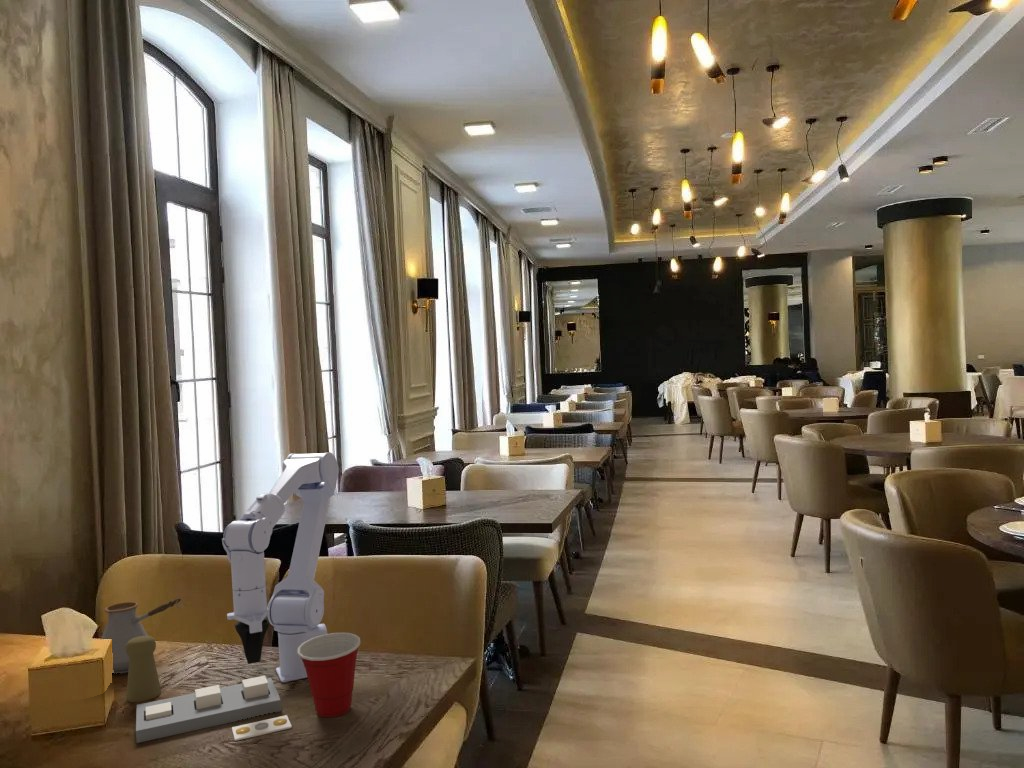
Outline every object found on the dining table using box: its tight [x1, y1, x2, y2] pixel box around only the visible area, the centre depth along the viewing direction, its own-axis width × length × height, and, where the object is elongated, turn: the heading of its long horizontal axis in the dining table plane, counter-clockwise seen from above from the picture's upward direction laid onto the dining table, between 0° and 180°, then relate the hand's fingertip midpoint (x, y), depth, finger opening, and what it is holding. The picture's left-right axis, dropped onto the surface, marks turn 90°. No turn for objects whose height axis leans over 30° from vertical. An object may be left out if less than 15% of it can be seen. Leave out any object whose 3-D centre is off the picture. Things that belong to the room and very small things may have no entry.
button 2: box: [241, 675, 269, 699], centre depth 143 cm, size 4×4×2 cm
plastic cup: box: [297, 632, 361, 718], centre depth 138 cm, size 11×11×12 cm
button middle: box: [194, 684, 221, 709], centre depth 140 cm, size 4×4×2 cm
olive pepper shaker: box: [125, 635, 162, 703], centre depth 150 cm, size 6×6×11 cm
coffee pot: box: [100, 598, 185, 675], centre depth 164 cm, size 21×12×15 cm, turn 71°
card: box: [231, 714, 293, 742], centre depth 132 cm, size 9×5×1 cm, turn 115°
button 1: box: [146, 702, 172, 720], centre depth 136 cm, size 4×4×2 cm
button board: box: [135, 677, 282, 744], centre depth 140 cm, size 23×12×2 cm, turn 115°
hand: (253, 661), depth 143 cm, fingers closed
